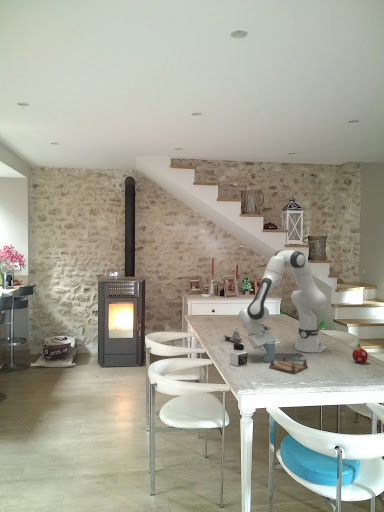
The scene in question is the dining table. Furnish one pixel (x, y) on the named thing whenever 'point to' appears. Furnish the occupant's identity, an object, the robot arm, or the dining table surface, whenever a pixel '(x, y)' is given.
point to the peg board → (288, 366)
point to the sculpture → (236, 337)
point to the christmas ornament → (360, 355)
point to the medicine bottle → (238, 355)
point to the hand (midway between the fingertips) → (270, 351)
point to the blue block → (269, 351)
